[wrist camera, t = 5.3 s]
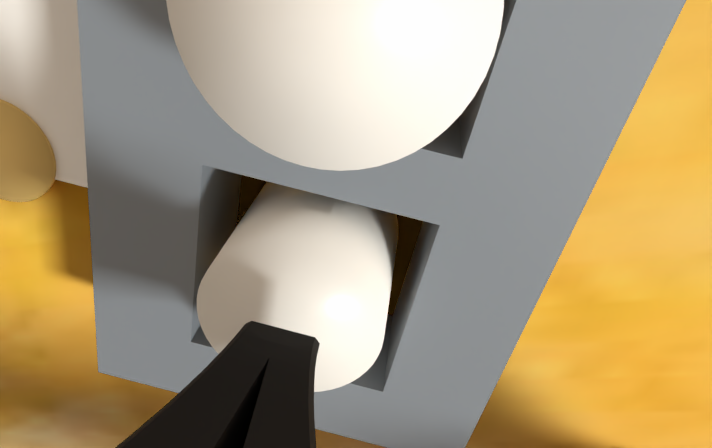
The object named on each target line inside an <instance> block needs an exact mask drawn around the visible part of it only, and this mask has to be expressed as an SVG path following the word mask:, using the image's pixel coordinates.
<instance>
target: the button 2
mask: <svg viewBox="0 0 712 448" xmlns="http://www.w3.org/2000/svg"><path fill="white" fill-rule="evenodd" d="M398 231H399V229H398V220H397V216H396V214H394V213H390V212H386V211H382V210H378V209H374V208H370V207H366V206H362V205H358V204H354V203H350V202H346V201H342V200H338V199H335V198H331V197H327V196H323V195H319V194H315V193H311V192H307V191H303V190H299V189H295V188H291V187H287V186H283V185H280V184H276V183H272V182H268V181H267V183H266V184H265V185H264V186H263V188H262V189H261V191H260V192H259V194H258V195H257V197H256V198H255V200H254V201H253V203H252V204H251V206H250V207H249V209H248V210H247V212H246V213H245V215H244V216H243V218H242V219H241V221H240V222H239V224H238V225H237V227H236V228H235V230H234V231H233V233H232V234H231V236H230V237H229V239H228V240H227V242H226V243H225V245H224V246H223V248H222V249H221V251H220V252H219V254H218V255H217V257H216V258H215V259H214V261H213V262H212V264H211V265H210V267H209V268H208V270H207V271H206V273H205V275H204V277H203V279H202V280H201V283H200V286H199V289H198V294H197V313H198V319H199V322H200V325H201V328H202V330H203V332H204V334H205V336H206V338H207V340H208V341H209V343H210V344H211V346H212V347H213V348H214V349H215V351H216V352H217V353H218V354H219V353H220V352H221V351H222V350H223V349H224V348H225V347H226V346H227V345H228V344H229V342H230V341H231V340H232V339H233V338H234V337H235V336H236V334H237V333H238V332H239V331H240V330H241V328H242V327H243V326H244V325H245V324H246V323H248V322H250V321H255V322H259V323H263V324H266V325H270V326H274V327H278V328H282V329H285V330H289V331H293V332H297V333H301V334H304V335H308V336H312V337H315V338H316V339H317V340H318V342H319V343H320V345H319V349H318V354H317V359H316V366H315V379H314V392H321V391H327V390H332V389H335V388H339V387H342V386H344V385H346V384H349V383H351V382H353V381H354V380H356V379H357V378H359V377H360V376H362V375H363V374H364V373H365V372H366V371H368V369H369V368H370V367H371V366H372V365H373V364H374V362H375V361H376V359H377V357H378V356H379V353H380V351H381V349H382V345H383V341H384V335H385V328H386V321H387V314H388V307H389V300H390V292H391V285H392V278H393V271H394V264H395V257H396V250H397V242H398Z"/></svg>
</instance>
